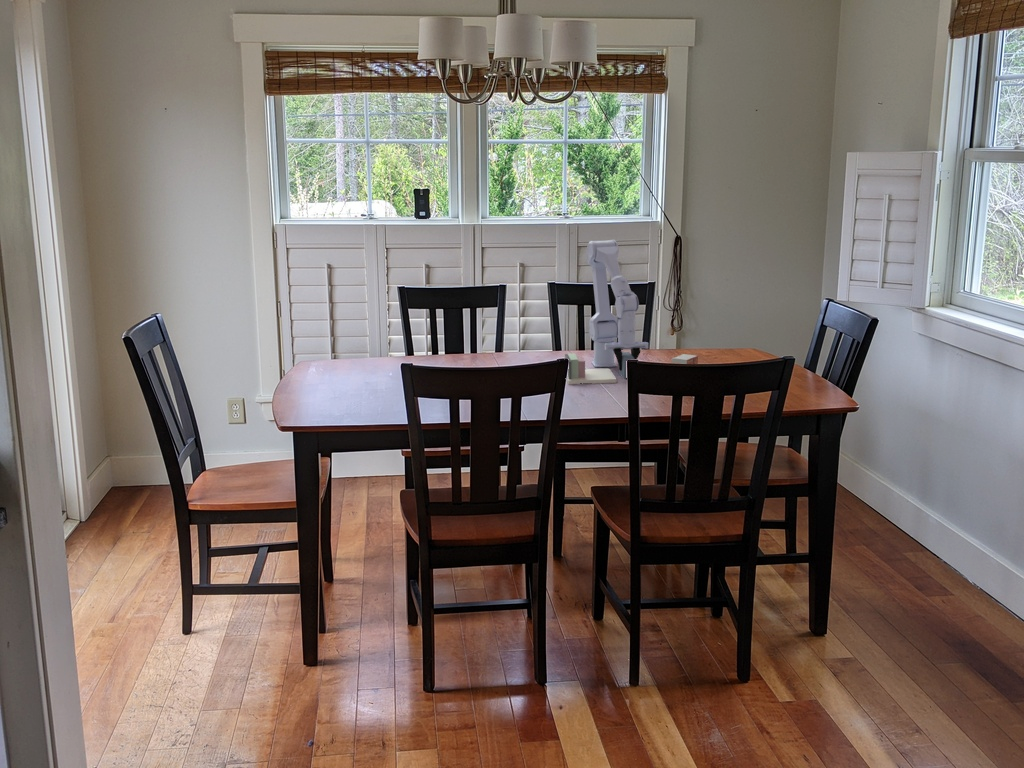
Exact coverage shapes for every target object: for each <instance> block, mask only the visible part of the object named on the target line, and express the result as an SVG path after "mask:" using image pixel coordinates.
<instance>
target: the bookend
mask: <svg viewBox="0 0 1024 768" xmlns="http://www.w3.org/2000/svg"><path fill="white" fill-rule="evenodd" d="M567 354H568V353H565V354H564V359H565V358H567V359H569V369H568V378H569V379H571V360H570V358H569V357H568V355H567Z"/></svg>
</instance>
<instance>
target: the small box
mask: <svg viewBox="0 0 1024 768" xmlns="http://www.w3.org/2000/svg"><path fill="white" fill-rule="evenodd" d="M670 361H671V363H681V364H698V365H699V356H698V355H694V354H685V353H682V354H680V355H678V356H674V357H671V360H670ZM671 363H670V364H671Z"/></svg>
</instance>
